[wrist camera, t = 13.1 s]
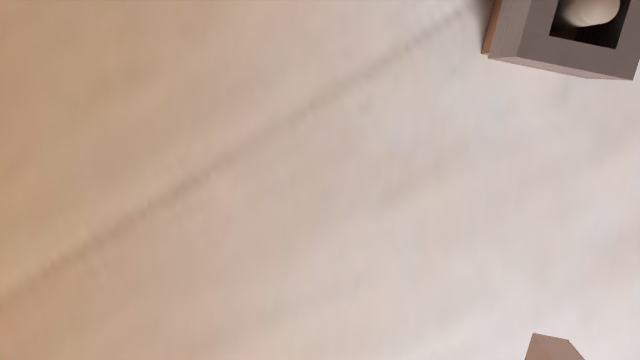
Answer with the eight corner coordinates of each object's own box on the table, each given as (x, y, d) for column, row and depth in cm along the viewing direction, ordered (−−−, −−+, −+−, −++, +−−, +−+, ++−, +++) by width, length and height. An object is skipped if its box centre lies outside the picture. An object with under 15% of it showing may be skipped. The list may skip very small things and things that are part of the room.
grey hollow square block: (514, -48, 35) (550, -70, 29) (617, -26, 35) (672, -45, 29) (487, 58, 37) (516, 56, 31) (585, 78, 37) (632, 80, 31)
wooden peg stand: (501, -28, 39) (564, -63, 28) (580, -12, 39) (672, -42, 29) (481, 53, 40) (533, 49, 30) (557, 69, 41) (636, 70, 30)
